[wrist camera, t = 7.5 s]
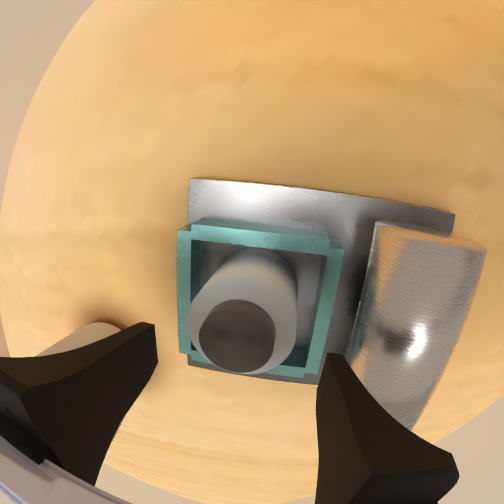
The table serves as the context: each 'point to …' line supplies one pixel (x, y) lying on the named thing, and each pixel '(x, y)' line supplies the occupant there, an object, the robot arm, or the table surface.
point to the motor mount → (342, 281)
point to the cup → (83, 339)
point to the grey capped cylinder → (246, 313)
